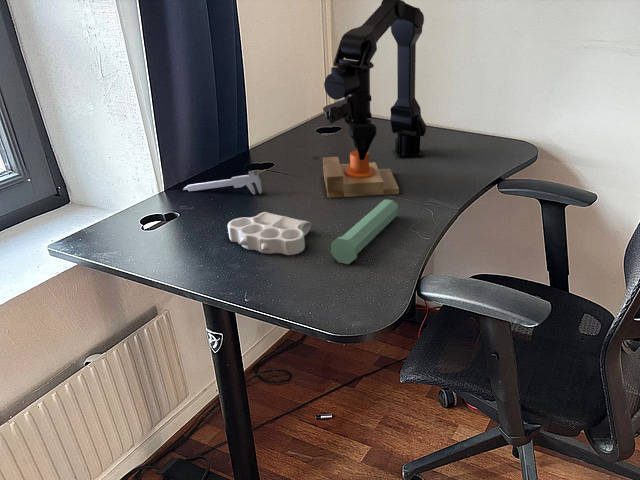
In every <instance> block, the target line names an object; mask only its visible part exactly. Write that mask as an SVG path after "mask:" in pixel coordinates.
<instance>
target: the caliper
mask: <svg viewBox="0 0 640 480" xmlns="http://www.w3.org/2000/svg"><path fill="white" fill-rule="evenodd" d="M247 173H248V174H244V175H237V176H232V177H231V178H229V179H219V180H212V181H206V182H197V183H191V184H187V185H186V186H184V187H183V188H182V191H188V192H195V191H203V190H209V189H210V190H211V189H217V188H225V187H230V186H231V187H232V186H233V188H234V189H238V188H240V189H241V188H242V187H244V186H246V187H247V188H248V190H249V191H250V193H251V194H253V195H254V196H255V195H256V194H257V192H256V189H257V191H258V194H259V195H261V194H262V193H263V184H262V179H261V177H260V175H259V173H257V172H256V170H255V169H254V170H253V171H251V170H248V171H247ZM253 183H255V186H256V188H255V186H254V184H253Z"/></svg>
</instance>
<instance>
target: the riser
mask: <svg viewBox="0 0 640 480" xmlns="http://www.w3.org/2000/svg"><path fill="white" fill-rule="evenodd" d="M349 166H350V163H340V159H339V157H338V156H325V157H322V170H323V171H322V172H323V181H324V184H325V190H326V195H327V198H328V199H329V198H330V199H332V198H349V197H351V198H352V197H365V196H384V195H399V194H400V187H399V186H398V183H397V181H396V179H395V177H394V174H393V172H392V170H391V168H378V165H377V163H376V162H375V161H373V162H369V166H371V167H373V168H374V169H375V174H374V175H373V176H371V177H367V178H352V177H349V176H347V175H345V173H344V170H345V169H346V168H347V167H349Z"/></svg>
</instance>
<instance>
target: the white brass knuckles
mask: <svg viewBox="0 0 640 480" xmlns="http://www.w3.org/2000/svg"><path fill="white" fill-rule="evenodd" d="M311 229H312V223H311V222H310V221H308V220H303V219H297V218H293V217H289V216H286V215H279V214H275V213H271V212H268V211H263V212H259V213H258V214H257V215H255V216H251V217H250V216H249V217H247V216H246V217H244V216H243V217H237V218H233V219H232V220H230V221H229V222H228V223H227V232H228V238H229V240H230V242H231V243H237V244H238V245H241V247H242V248H244V249H246V250H249V251H257V252H259V253H261V254H268V255H269V254H270V255H271V254H283V255H285V256H294V255H298V254H300V253H302V252H304V251H305V248H306V242H305V236H306V235H307V234H308V233H309V232H310V231H311Z"/></svg>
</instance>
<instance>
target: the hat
mask: <svg viewBox="0 0 640 480" xmlns="http://www.w3.org/2000/svg"><path fill="white" fill-rule="evenodd" d="M369 163H370V152H369V151H367V154H366V156H365V158H364V160H360V159H359V155H358V150H352V151H350V152H349V164H350V166H349V167H347V168H346V169H345V170H344V173H345V175H347V176H349V177H352V178H367V177H371V176H373V175H374V174H375V169H374V168H373V167H371V166H369Z"/></svg>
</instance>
